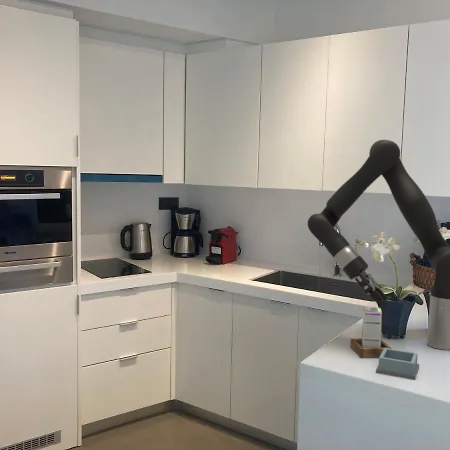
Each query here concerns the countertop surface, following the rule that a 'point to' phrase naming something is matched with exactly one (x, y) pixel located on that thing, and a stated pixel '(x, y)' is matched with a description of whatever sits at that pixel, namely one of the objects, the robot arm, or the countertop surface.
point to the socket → (398, 363)
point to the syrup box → (371, 327)
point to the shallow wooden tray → (367, 349)
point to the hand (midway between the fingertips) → (383, 301)
